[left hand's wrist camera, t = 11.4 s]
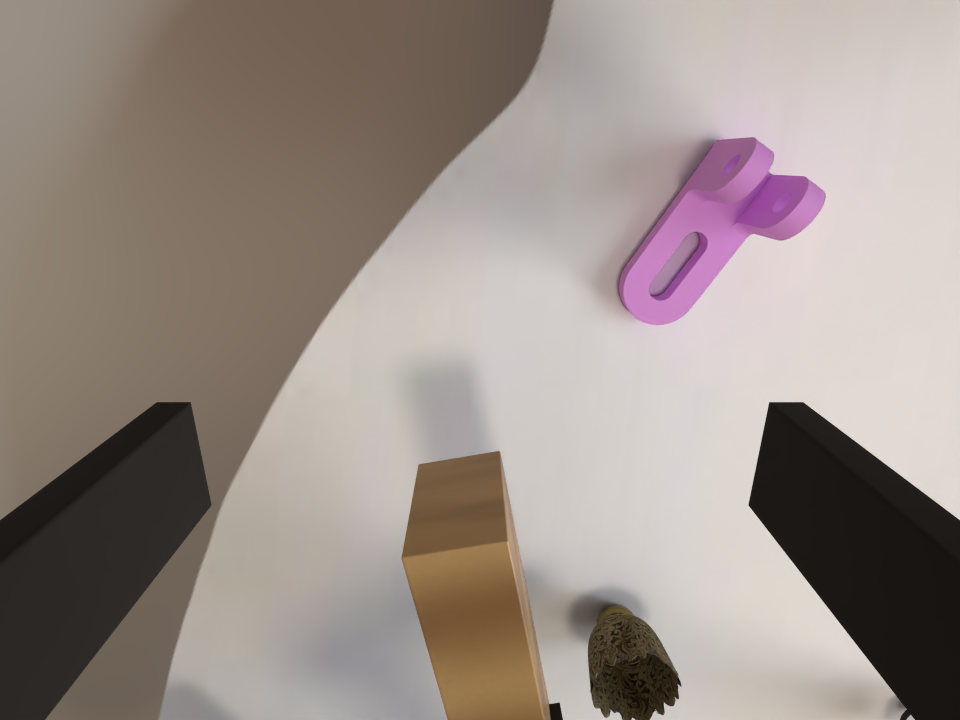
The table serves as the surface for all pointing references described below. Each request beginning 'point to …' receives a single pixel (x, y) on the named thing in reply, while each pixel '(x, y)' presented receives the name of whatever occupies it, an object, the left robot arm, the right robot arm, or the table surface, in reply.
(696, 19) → the table surface
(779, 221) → the bracket
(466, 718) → the bar
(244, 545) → the table surface
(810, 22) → the table surface
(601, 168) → the table surface
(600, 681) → the cup
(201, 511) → the left robot arm
